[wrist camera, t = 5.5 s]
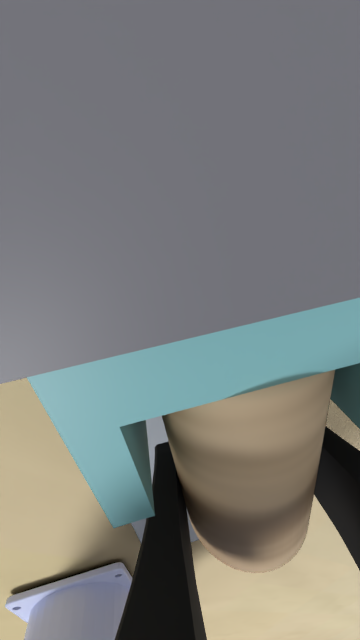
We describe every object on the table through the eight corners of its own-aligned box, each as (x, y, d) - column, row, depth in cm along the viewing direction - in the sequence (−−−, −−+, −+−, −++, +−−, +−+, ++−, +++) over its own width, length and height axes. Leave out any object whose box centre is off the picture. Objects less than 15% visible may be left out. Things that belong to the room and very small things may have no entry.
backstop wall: (286, 213, 9) (543, 253, 4) (29, 264, 8) (-169, 424, 3) (290, 107, 8) (729, -103, 2) (-19, 156, 7) (-645, 24, 1)
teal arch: (300, 340, 11) (411, 437, 7) (117, 386, 10) (113, 528, 6) (310, 220, 9) (490, 251, 4) (75, 268, 8) (18, 362, 4)
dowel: (270, 431, 13) (339, 548, 9) (177, 457, 13) (203, 593, 8) (273, 283, 9) (398, 364, 5) (140, 312, 9) (153, 428, 5)
